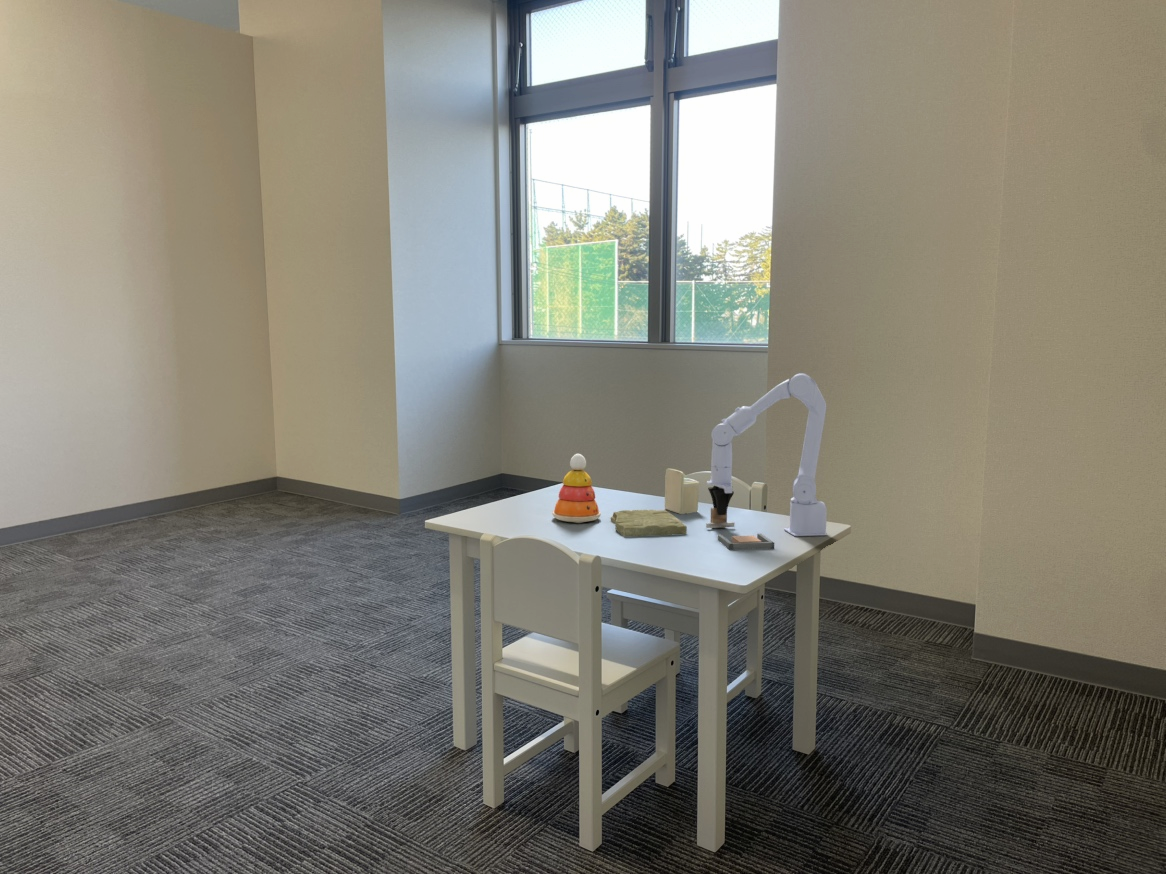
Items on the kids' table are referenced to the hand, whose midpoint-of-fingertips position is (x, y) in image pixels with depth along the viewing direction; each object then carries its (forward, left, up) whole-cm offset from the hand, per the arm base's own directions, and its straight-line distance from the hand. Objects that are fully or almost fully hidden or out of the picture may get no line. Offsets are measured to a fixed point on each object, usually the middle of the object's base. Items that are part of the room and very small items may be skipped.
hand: (720, 513), depth 245 cm
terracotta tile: (-1, +19, -4) cm, 20 cm away
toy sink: (+5, -23, -4) cm, 24 cm away
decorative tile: (+21, -3, -5) cm, 22 cm away
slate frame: (-1, +19, -4) cm, 19 cm away
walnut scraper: (0, 0, -3) cm, 4 cm away
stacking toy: (+39, -15, -4) cm, 42 cm away
